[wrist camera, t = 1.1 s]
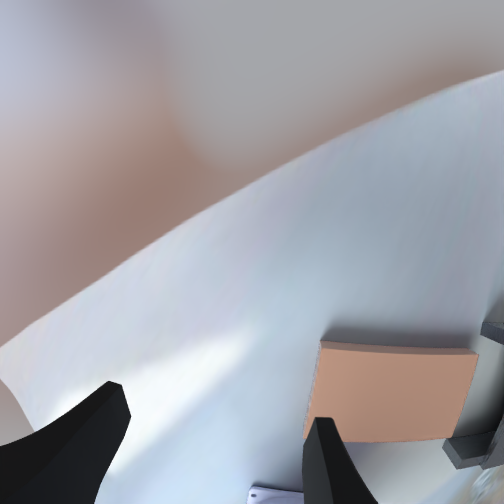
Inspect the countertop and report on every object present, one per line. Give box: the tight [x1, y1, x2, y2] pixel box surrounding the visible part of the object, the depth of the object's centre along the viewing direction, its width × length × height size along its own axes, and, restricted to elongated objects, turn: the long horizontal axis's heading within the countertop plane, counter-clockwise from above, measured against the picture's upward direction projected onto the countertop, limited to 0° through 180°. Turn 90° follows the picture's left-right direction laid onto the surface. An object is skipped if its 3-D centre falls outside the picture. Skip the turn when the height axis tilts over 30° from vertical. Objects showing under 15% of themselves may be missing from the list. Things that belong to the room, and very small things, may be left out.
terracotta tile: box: [303, 340, 479, 442], centre depth 18 cm, size 7×12×2 cm, turn 83°
